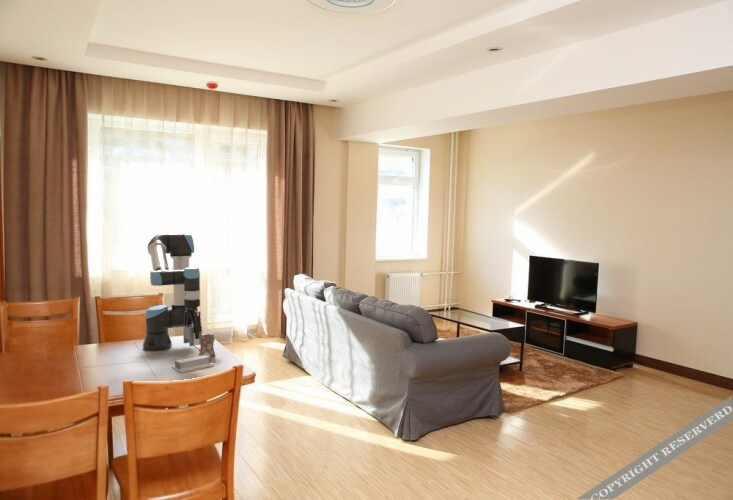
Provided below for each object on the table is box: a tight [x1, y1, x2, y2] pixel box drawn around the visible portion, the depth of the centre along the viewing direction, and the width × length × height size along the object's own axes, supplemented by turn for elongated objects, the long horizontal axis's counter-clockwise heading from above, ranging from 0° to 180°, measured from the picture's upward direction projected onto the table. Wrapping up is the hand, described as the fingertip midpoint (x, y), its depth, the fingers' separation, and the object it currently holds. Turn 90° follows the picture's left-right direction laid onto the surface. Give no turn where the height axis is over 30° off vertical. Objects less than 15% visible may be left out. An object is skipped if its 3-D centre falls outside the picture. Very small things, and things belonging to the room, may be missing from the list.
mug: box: [194, 333, 217, 357], centre depth 281 cm, size 12×9×11 cm
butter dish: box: [171, 354, 215, 374], centre depth 263 cm, size 11×17×4 cm, turn 132°
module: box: [182, 324, 203, 347], centre depth 262 cm, size 8×6×9 cm
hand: (192, 343), depth 262 cm, fingers closed on module, 8 cm apart
